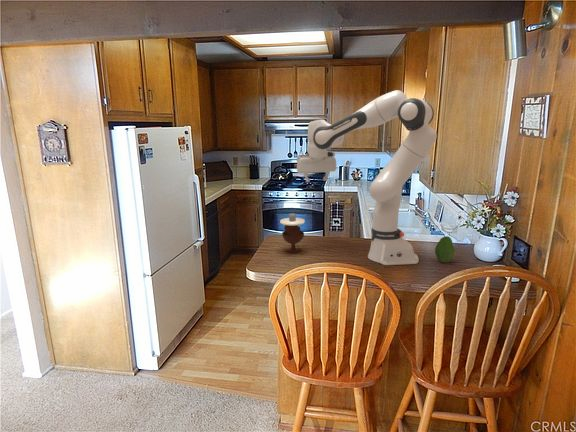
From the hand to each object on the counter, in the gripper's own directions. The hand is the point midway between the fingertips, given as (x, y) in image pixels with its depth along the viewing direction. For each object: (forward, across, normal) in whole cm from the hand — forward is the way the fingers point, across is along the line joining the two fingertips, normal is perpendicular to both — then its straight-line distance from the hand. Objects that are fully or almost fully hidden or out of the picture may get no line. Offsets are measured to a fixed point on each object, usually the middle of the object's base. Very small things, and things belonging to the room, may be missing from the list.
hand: (316, 181), depth 185 cm
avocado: (+33, +43, -44) cm, 70 cm away
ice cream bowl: (+33, -15, -6) cm, 37 cm away
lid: (+18, -15, -6) cm, 24 cm away
